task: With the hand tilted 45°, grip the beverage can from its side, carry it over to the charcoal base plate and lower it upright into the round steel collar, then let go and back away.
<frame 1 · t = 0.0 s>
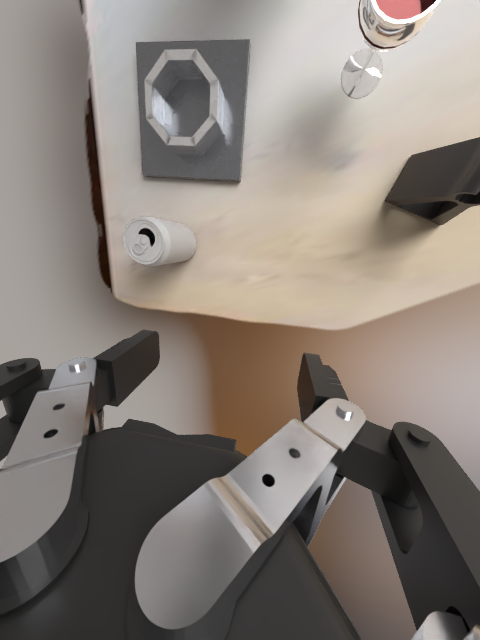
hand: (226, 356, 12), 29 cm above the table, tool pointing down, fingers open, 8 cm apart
phone stand: (424, 192, 32), on the table
collar stand: (192, 118, 34), on the table
beverage can: (181, 242, 40), on the table
wineglass: (361, 75, 29), on the table
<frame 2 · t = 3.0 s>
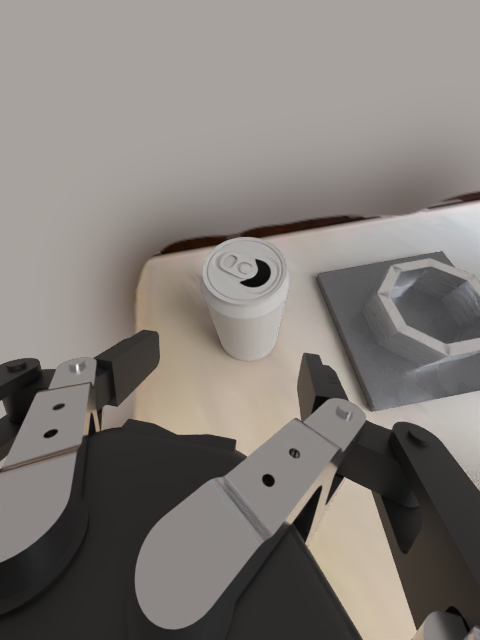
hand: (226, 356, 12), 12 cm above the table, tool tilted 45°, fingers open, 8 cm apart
collar stand: (408, 322, 25), on the table
beverage can: (248, 336, 26), on the table
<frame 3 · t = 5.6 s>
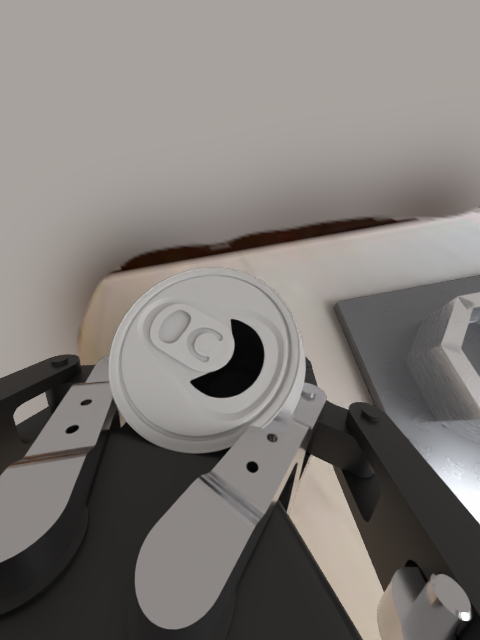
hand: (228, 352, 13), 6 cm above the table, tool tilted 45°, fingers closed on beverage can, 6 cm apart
collar stand: (476, 379, 17), on the table
beverage can: (235, 397, 17), on the table, touching gripper
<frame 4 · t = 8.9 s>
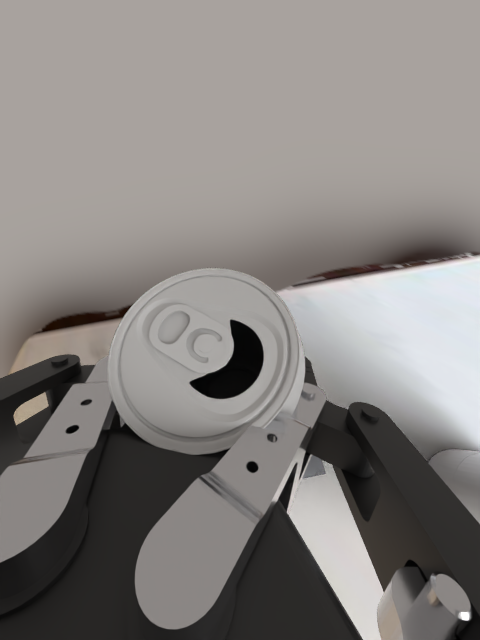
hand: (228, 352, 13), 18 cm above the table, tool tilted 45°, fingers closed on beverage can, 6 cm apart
collar stand: (239, 410, 28), on the table
beverage can: (235, 398, 17), point 12 cm above the table, touching gripper
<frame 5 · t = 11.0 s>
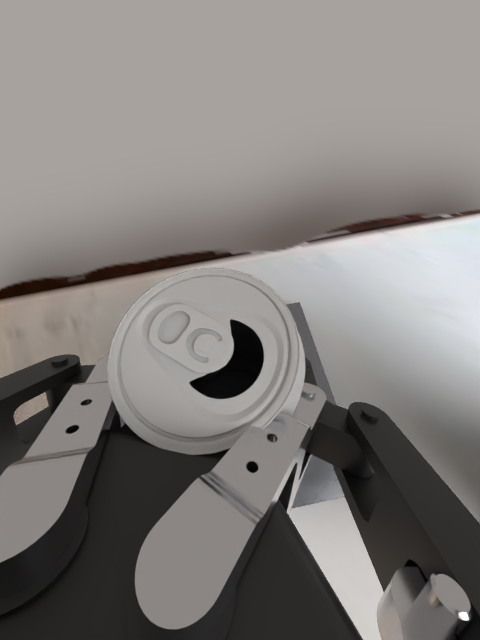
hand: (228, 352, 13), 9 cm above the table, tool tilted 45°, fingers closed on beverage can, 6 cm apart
collar stand: (237, 399, 20), on the table
beverage can: (235, 398, 17), point 3 cm above the table, touching gripper
when the fingers open (8 cm above the table, at t = 12.4 s): beverage can moves 1 cm, resting on collar stand.
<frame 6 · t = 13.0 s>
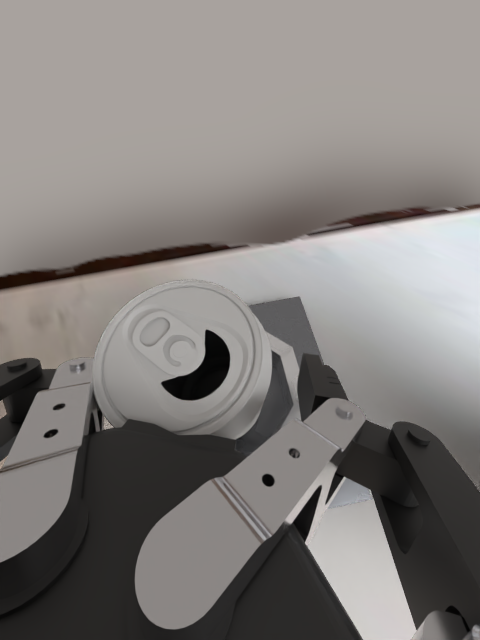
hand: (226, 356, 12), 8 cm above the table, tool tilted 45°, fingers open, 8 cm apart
collar stand: (233, 398, 19), on the table
beverage can: (222, 397, 18), point 1 cm above the table, touching collar stand, gripper
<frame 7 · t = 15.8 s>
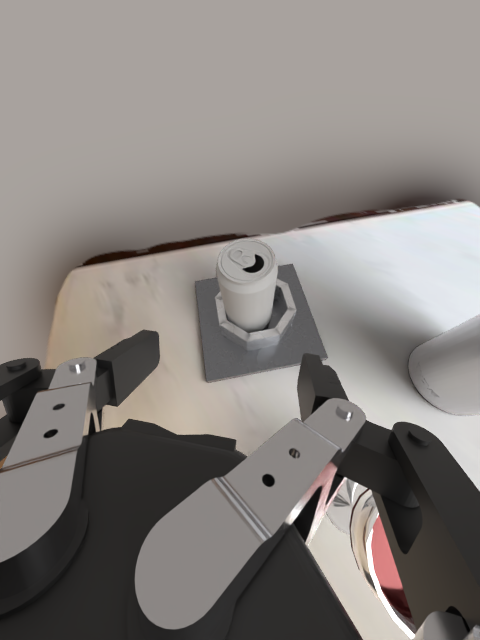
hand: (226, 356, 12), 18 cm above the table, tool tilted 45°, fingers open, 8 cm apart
collar stand: (254, 318, 33), on the table
beverage can: (248, 316, 33), point 1 cm above the table, touching collar stand
wineglass: (347, 502, 23), on the table
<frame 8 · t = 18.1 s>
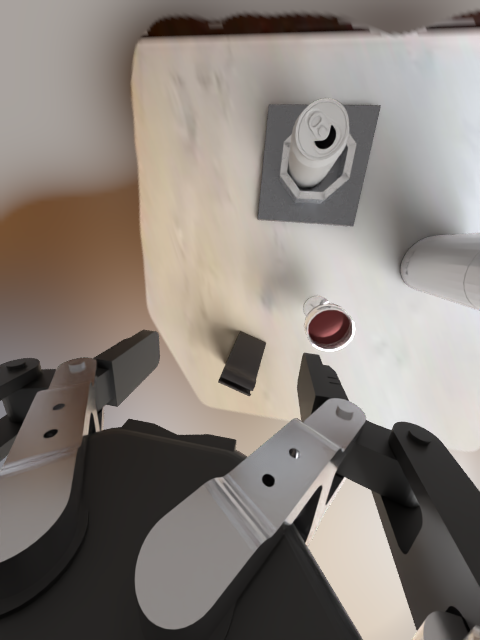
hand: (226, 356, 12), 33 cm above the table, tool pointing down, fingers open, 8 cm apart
phone stand: (245, 353, 49), on the table
collar stand: (312, 170, 37), on the table
beverage can: (307, 166, 36), point 1 cm above the table, touching collar stand
wineglass: (316, 308, 44), on the table
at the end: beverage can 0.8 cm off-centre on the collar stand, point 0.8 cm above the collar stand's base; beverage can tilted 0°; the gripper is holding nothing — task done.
